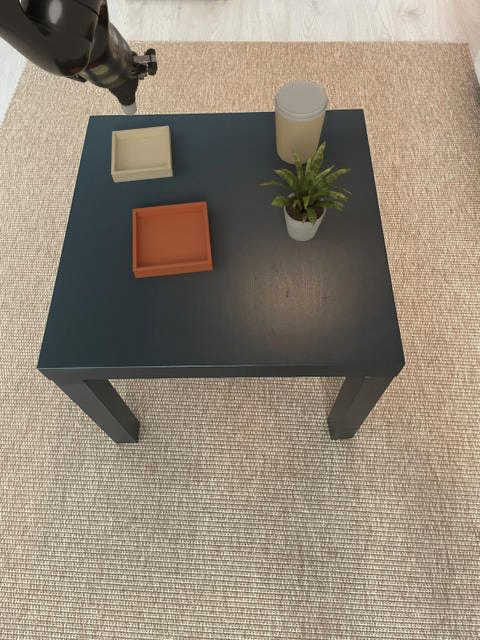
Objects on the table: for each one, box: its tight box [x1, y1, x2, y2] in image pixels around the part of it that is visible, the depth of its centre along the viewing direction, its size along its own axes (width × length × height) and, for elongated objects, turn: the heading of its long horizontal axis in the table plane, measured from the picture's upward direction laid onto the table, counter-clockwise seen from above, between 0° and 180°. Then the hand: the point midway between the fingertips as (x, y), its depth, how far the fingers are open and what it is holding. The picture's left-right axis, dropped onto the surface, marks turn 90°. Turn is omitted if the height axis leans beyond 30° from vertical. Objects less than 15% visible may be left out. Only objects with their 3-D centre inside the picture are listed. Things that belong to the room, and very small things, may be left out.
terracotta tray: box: [132, 200, 214, 279], centre depth 84 cm, size 13×13×2 cm
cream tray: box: [110, 125, 174, 183], centre depth 93 cm, size 11×11×2 cm
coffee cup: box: [273, 79, 329, 165], centre depth 88 cm, size 9×9×12 cm
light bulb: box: [107, 78, 140, 117], centre depth 79 cm, size 6×6×10 cm
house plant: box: [258, 140, 358, 242], centre depth 77 cm, size 14×14×16 cm
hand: (122, 75), depth 79 cm, fingers closed on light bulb, 5 cm apart
